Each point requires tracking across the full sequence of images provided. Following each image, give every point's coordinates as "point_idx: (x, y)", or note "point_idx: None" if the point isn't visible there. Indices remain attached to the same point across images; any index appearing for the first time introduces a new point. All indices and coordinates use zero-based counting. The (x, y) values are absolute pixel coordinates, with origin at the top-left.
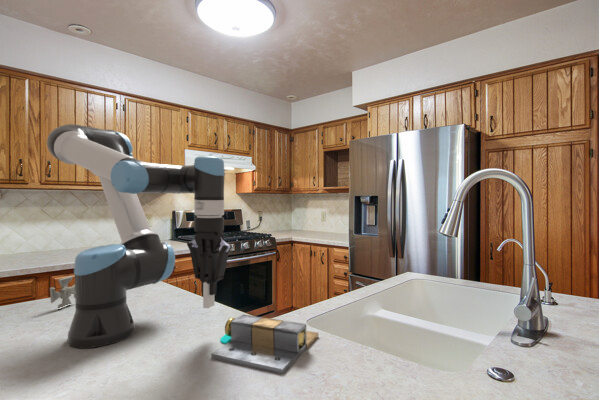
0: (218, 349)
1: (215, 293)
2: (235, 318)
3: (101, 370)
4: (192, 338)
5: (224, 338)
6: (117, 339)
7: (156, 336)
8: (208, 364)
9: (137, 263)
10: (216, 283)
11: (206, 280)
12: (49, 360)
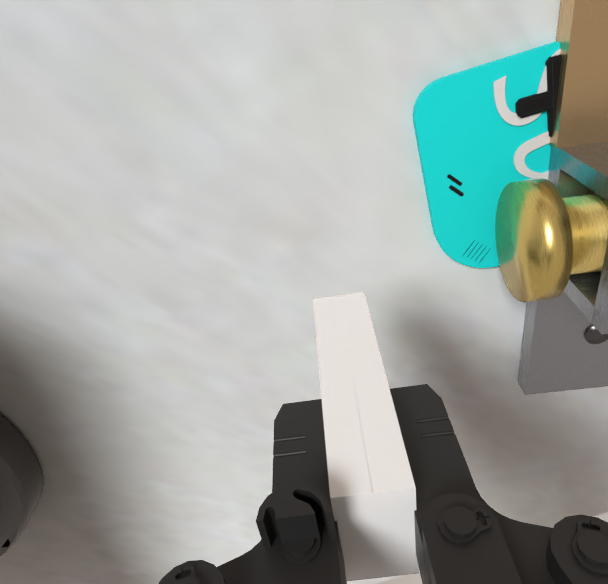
0: (533, 358)
1: (430, 395)
2: (572, 238)
3: (236, 551)
4: (279, 297)
5: (460, 233)
6: (34, 470)
7: (100, 362)
8: (537, 412)
9: None
10: (472, 483)
11: (341, 560)
12: (37, 580)
